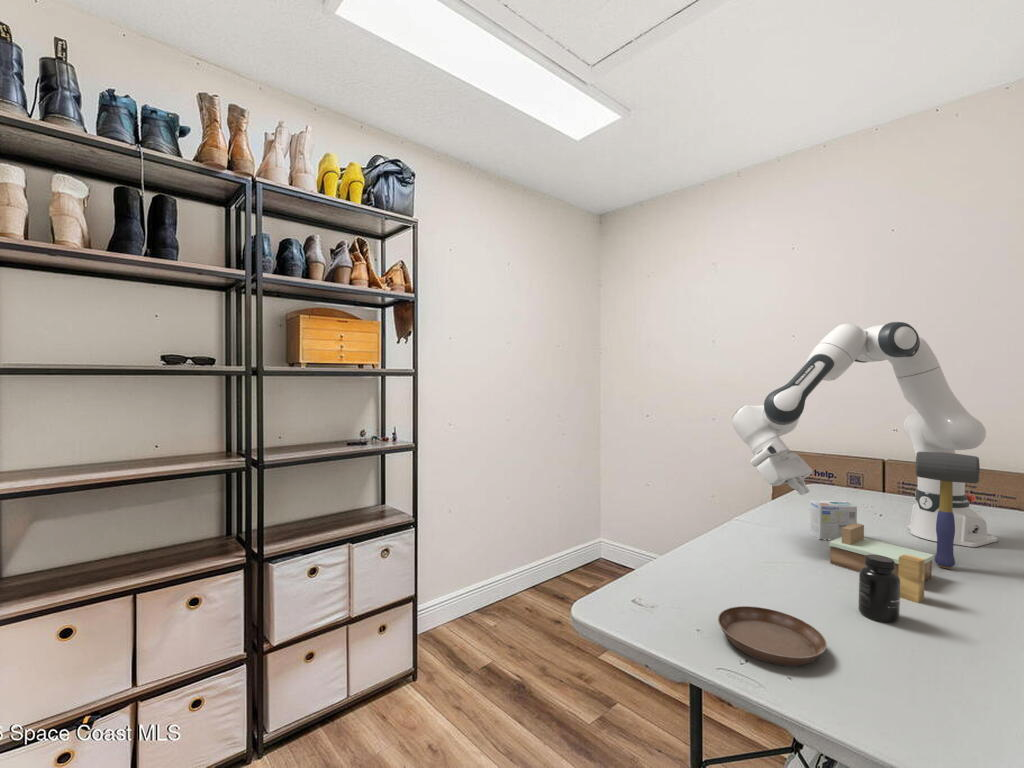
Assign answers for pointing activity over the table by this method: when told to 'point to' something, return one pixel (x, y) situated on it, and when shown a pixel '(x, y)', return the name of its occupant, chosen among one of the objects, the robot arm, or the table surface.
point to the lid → (872, 545)
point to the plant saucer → (772, 635)
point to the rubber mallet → (946, 493)
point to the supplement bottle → (879, 589)
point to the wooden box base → (863, 561)
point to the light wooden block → (911, 577)
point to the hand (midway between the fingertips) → (805, 493)
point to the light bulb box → (831, 518)
